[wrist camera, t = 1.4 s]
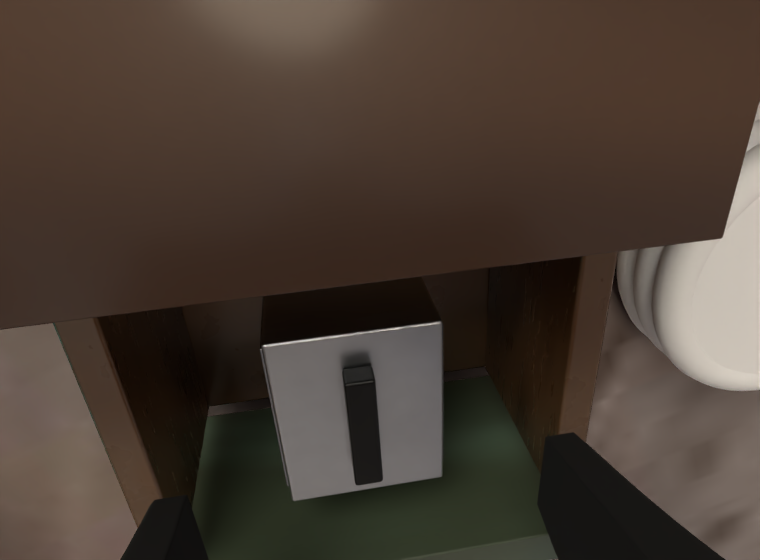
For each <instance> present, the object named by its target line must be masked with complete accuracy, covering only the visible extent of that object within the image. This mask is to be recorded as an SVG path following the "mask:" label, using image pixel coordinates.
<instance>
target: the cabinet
mask: <svg viewBox="0 0 760 560" xmlns="http://www.w3.org/2000/svg"><path fill="white" fill-rule="evenodd" d="M759 102H760V0H0V329H8V328H16V327H24V326H32V325H40V324H48V323H56V322H64V321H72V320H80V319H88V318H96V317H104V316H112V315H120V314H128V313H135V312H143V311H151V310H159V309H167V308H175V307H183V306H191V305H199V304H207V303H215V302H223V301H231V300H239V299H247V298H255V297H262V296H270V295H278V294H286V293H294V292H302V291H310V290H318V289H326V288H334V287H342V286H350V285H358V284H366V283H374V282H382V281H389V280H397V279H405V278H413V277H421V276H429V275H437V274H445V273H453V272H461V271H469V270H477V269H485V268H493V267H501V266H509V265H516V264H524V263H532V262H540V261H548V260H556V259H564V258H572V257H580V256H588V255H596V254H604V253H612V252H620V251H628V250H636V249H644V248H651V247H659V246H667V245H675V244H683V243H691V242H699V241H707V240H715V239H721V238H722V237H723V235H724V231H725V228H726V224H727V220H728V216H729V213H730V209H731V205H732V202H733V198H734V194H735V191H736V187H737V183H738V179H739V176H740V172H741V168H742V165H743V161H744V157H745V153H746V150H747V146H748V142H749V139H750V135H751V131H752V128H753V124H754V120H755V116H756V113H757V109H758V105H759Z"/></svg>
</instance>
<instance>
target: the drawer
mask: <svg viewBox="0 0 760 560" xmlns="http://www.w3.org/2000/svg"><path fill="white" fill-rule="evenodd" d="M617 255H618V252H612V253H604V254H596V255H588V256H580V257H572V258H564V259H556V260H548V261H540V262H532V263H524V264H516V265H509V266H501V267H493V268H485V269H477V270H469V271H461V272H453V273H445V274H437V275H429V276H422V279H423V281H424V283H425V285H426V287H427V289H428V292H429V294H430V296H431V298H432V300H433V303H434V305H435V307H436V309H437V311H438V313H439V316H440V318H441V320H442V323H443V372H449V371H456V370H463V369H470V368H477V367H484V366H485V367H486V369H487V371H488V373H489V376H482V377H475V378H468V379H462V380H455V381H448V382H443V475H442V477H440V478H434V479H428V480H422V481H416V482H409V483H403V484H397V485H391V486H385V487H379V488H373V489H367V490H361V491H355V492H349V493H343V494H337V495H331V496H325V497H319V498H313V499H307V500H301V501H293V500H292V499H291V494H290V489H289V486H287V483H286V478H285V473H284V468H283V463H282V458H281V453H280V448H279V443H278V438H277V433H276V428H275V423H274V418H273V413H272V409H271V408H264V409H257V410H251V411H244V412H237V413H230V414H223V415H217V416H210V417H207V415H208V409H209V406H215V405H222V404H229V403H236V402H243V401H250V400H256V399H263V398H269V394H268V389H267V384H266V379H265V374H264V369H263V364H262V359H261V354H260V334H261V316H262V299H263V296H262V297H255V298H247V299H239V300H231V301H223V302H215V303H207V304H199V305H191V306H183V307H175V308H167V309H159V310H151V311H143V312H135V313H128V314H120V315H112V316H104V317H96V318H88V319H80V320H72V321H64V322H56V323H53V324H54V327H55V329H56V331H57V334H58V336H59V339H60V341H61V344H62V346H63V348H64V351H65V353H66V356H67V358H68V360H69V363H70V365H71V368H72V370H73V373H74V375H75V377H76V380H77V382H78V385H79V387H80V389H81V392H82V394H83V397H84V399H85V402H86V404H87V406H88V409H89V411H90V414H91V416H92V418H93V421H94V423H95V426H96V428H97V430H98V433H99V435H100V438H101V440H102V443H103V445H104V447H105V450H106V452H107V455H108V457H109V459H110V462H111V464H112V467H113V469H114V472H115V474H116V476H117V479H118V481H119V484H120V486H121V488H122V491H123V493H124V496H125V498H126V501H127V503H128V505H129V508H130V510H131V513H132V515H133V517H134V520H135V522H136V525H137V527H139V525H140V523H141V521H142V519H143V518H144V516H145V514H146V512H147V510H148V508H149V506H150V505H151V503H152V502H153V501H154V500H157V499H163V498H169V497H176V496H182V495H188V498H189V501H190V504H191V507H192V510H193V513H194V516H195V519H196V522H197V525H198V528H199V531H200V534H201V537H202V540H203V543H204V546H205V549H206V552H207V555H208V558H209V560H551V559H556V558H558V557H557V555H556V553H555V551H554V548H553V545H552V543H551V540H550V538H549V535H548V532H547V530H546V527H545V524H544V521H543V519H542V516H541V513H540V510H539V508H538V505H537V501H538V493H539V485H540V477H541V468H542V460H543V452H544V444H545V437H547V436H553V435H559V434H566V433H572V432H574V433H575V434H576V435H578V436H579V437H580V438H581V439H582V440H583V441H584V442H585V443H586V437H587V431H588V425H589V419H590V413H591V407H592V402H593V396H594V390H595V384H596V378H597V372H598V366H599V361H600V355H601V349H602V343H603V337H604V331H605V325H606V320H607V314H608V308H609V302H610V296H611V290H612V284H613V278H614V273H615V267H616V261H617Z"/></svg>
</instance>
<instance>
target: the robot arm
mask: <svg viewBox="0 0 760 560" xmlns="http://www.w3.org/2000/svg"><path fill="white" fill-rule="evenodd" d="M537 505H538V508H539V510H540V513H541V516H542V519H543V521H544V524H545V527H546V530H547V532H548V535H549V538H550V540H551V543H552V545H553V548H554V551H555V553H556V555H557V557H558V559H559V560H725V559H724V558H722V557H721V556H720V555H718V554H717V553H716V552H715V551H713V550H712V549H711V548H709V547H708V546H707V545H705V544H704V543H703V542H702V541H700V540H699V539H698V538H696V537H695V536H694V535H692V534H691V533H690V532H689V531H687V530H686V529H685V528H684V527H682V526H681V525H680V524H679V523H677V522H676V521H675V520H674V519H673V518H671V517H670V516H669V515H668V514H667V513H665V512H664V511H663V510H662V509H661V508H659V507H658V506H657V505H656V504H655V503H653V502H652V501H651V500H650V499H649V498H647V497H646V496H645V495H644V494H643V493H642V492H640V491H639V490H638V489H637V488H636V487H635V486H634V485H632V484H631V483H630V482H629V481H628V480H627V479H626V478H624V477H623V476H622V475H621V474H620V473H619V472H618V471H617V470H615V469H614V468H613V467H612V466H611V465H610V464H609V463H608V462H607V461H605V460H604V459H603V458H602V457H601V456H600V455H599V454H598V453H597V452H595V451H594V450H593V449H592V448H591V447H590V446H589V445H588V444H587V443H585V442H584V441H583V440H582V439H581V438H580V437H579V436H578V435H576V434H575V433H574V432H572V433H566V434H559V435H553V436H547V437H545V444H544V452H543V460H542V468H541V477H540V485H539V493H538V501H537ZM121 560H209V558H208V555H207V552H206V549H205V546H204V543H203V540H202V537H201V534H200V531H199V528H198V525H197V522H196V519H195V516H194V513H193V510H192V507H191V504H190V501H189V498H188V495H182V496H176V497H169V498H163V499H157V500H154V501H153V502H152V503H151V505H150V506H149V508H148V510H147V512H146V514H145V516H144V518H143V519H142V521H141V523H140V525H139V527H138V529H137V531H136V533H135V534H134V536H133V538H132V540H131V542H130V544H129V545H128V547H127V549H126V551H125V553H124V554H123V556H122V558H121Z"/></svg>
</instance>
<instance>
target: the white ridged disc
mask: <svg viewBox="0 0 760 560" xmlns="http://www.w3.org/2000/svg"><path fill="white" fill-rule="evenodd" d="M617 283H618V290H619V293H620V296H621V299H622V303H623V305H624V307H625V309H626V311H627V313H628V315H629V317H630V319H631V321H632V322H633V323H634V324H635V326H636V327H637V328H638V329H639V330H640V331H641V332H642V333H643V334H644V335H645V336H647V337H648V338H649V339H650V340H651V342H652V343H653V344H654V345H655V347H657V348H658V349H659V350H660V351H661V352H662V353H664V354H665V355H666V356H667V357H668V358H669V359H670V361H671V362H672V363H673V365H674V366H676V367H677V368H678V369H679V370H680V371H681V372H683V373H684V374H686V375H687V376H689V377H691V378H693V379H695V380H697V381H699V382H701V383H703V384H706V385H708V386H711V387H714V388H719V389H724V390H732V391H752V390H760V102H759V105H758V109H757V113H756V116H755V120H754V124H753V128H752V131H751V135H750V139H749V142H748V146H747V150H746V153H745V157H744V161H743V165H742V168H741V172H740V176H739V179H738V183H737V187H736V191H735V194H734V198H733V202H732V205H731V209H730V213H729V216H728V220H727V224H726V228H725V231H724V235H723V237H722V238H721V239H715V240H707V241H699V242H691V243H683V244H675V245H667V246H659V247H651V248H644V249H636V250H628V251H620V252H618V256H617Z"/></svg>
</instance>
